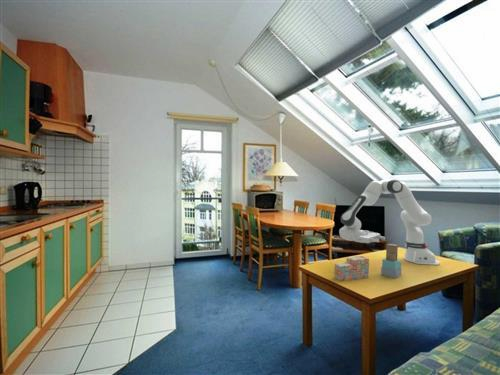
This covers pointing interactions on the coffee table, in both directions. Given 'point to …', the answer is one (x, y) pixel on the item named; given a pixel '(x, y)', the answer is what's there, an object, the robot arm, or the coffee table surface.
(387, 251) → the walnut block
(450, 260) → the coffee table surface
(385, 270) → the tower base
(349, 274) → the stack of blocks
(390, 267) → the tower top
